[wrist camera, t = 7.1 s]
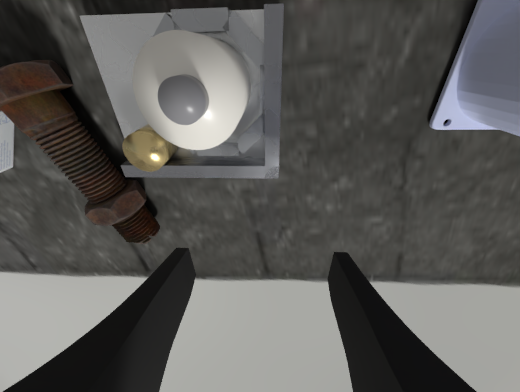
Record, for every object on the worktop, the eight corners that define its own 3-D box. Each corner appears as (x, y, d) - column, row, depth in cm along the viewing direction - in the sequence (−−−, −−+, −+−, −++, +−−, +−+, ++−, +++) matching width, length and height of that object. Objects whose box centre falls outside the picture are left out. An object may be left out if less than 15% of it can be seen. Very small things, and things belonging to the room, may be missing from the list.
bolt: (156, 213, 25) (49, 70, 17) (182, 220, 22) (68, 51, 14) (109, 252, 22) (-53, 95, 14) (133, 266, 19) (-57, 77, 11)
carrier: (282, 12, 13) (284, -1, 10) (277, 163, 19) (278, 185, 16) (93, 18, 14) (42, 8, 11) (142, 162, 19) (117, 183, 16)
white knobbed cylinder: (254, 42, 13) (241, 34, 8) (249, 128, 16) (237, 162, 11) (168, 33, 13) (103, 20, 8) (178, 121, 16) (135, 151, 11)
